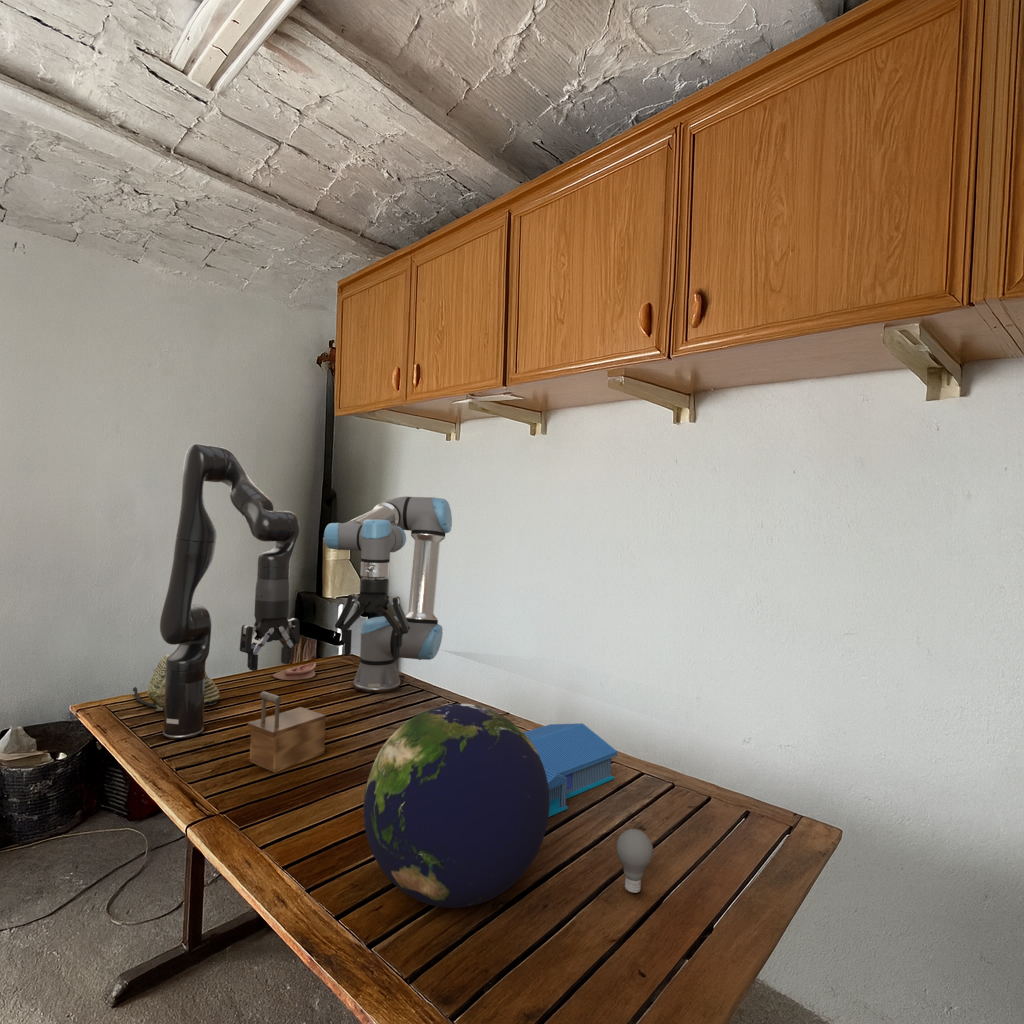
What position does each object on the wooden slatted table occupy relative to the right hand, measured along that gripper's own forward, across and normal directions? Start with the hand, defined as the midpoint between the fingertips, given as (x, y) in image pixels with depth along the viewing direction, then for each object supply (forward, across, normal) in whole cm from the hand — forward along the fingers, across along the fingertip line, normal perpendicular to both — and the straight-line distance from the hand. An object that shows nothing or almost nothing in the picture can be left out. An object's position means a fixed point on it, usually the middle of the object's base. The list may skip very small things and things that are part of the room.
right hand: (371, 657), depth 169 cm
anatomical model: (+21, -44, +44) cm, 66 cm away
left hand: (-3, -15, -25) cm, 29 cm away
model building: (+21, +46, -21) cm, 54 cm away
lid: (+12, -13, -19) cm, 26 cm away
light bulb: (+21, +67, -54) cm, 89 cm away
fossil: (+21, -59, +7) cm, 63 cm away
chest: (+21, -13, -19) cm, 31 cm away
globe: (+21, +38, -61) cm, 75 cm away
